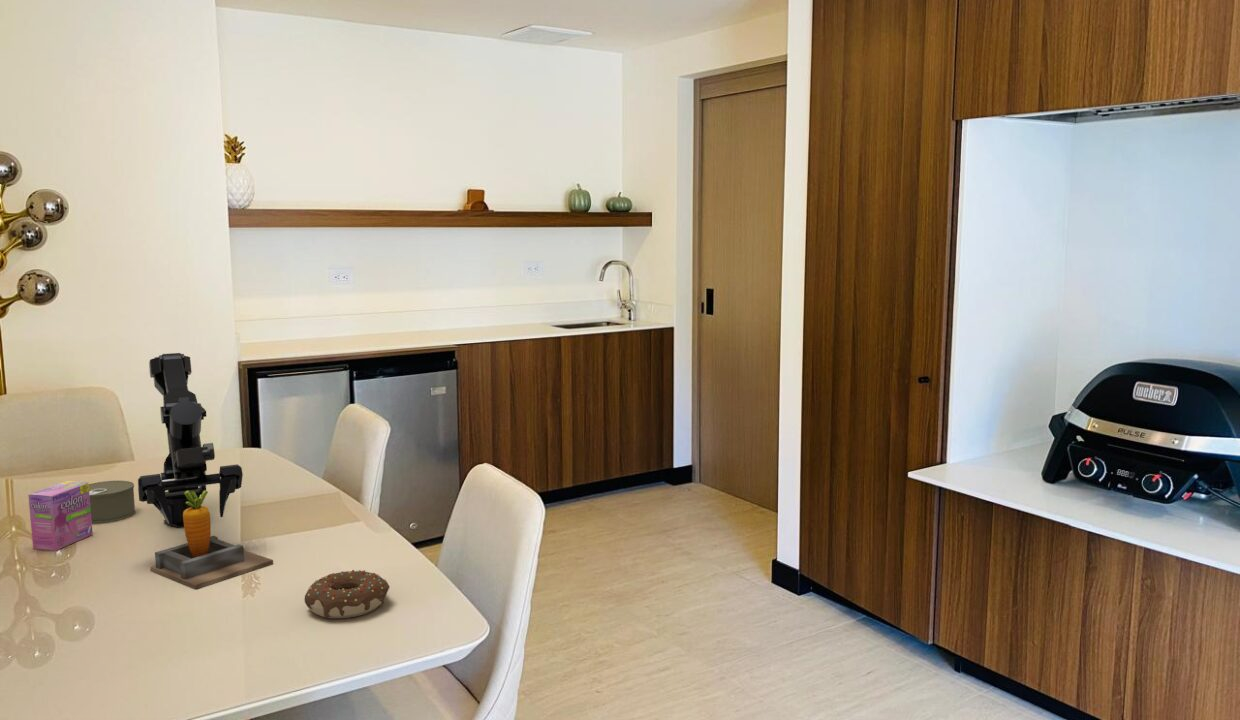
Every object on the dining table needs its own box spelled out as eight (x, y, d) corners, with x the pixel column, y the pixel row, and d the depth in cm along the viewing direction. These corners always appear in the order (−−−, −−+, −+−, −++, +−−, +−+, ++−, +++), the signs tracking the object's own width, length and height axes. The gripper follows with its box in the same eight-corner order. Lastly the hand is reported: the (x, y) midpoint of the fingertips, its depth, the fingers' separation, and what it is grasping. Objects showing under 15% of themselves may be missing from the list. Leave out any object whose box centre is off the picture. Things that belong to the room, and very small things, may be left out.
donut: (345, 630, 154) (343, 601, 153) (289, 612, 161) (288, 584, 160) (407, 600, 166) (406, 573, 165) (353, 585, 173) (352, 559, 172)
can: (147, 509, 220) (145, 481, 219) (115, 525, 208) (112, 495, 207) (99, 508, 221) (96, 479, 220) (64, 524, 209) (61, 494, 208)
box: (56, 551, 191) (51, 495, 190) (32, 549, 192) (26, 493, 191) (94, 535, 201) (89, 481, 200) (71, 533, 202) (66, 480, 201)
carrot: (217, 558, 184) (211, 485, 181) (209, 568, 179) (203, 493, 177) (191, 559, 183) (185, 486, 181) (182, 569, 179) (176, 494, 176)
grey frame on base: (227, 547, 193) (226, 529, 192) (273, 563, 184) (272, 545, 183) (150, 570, 180) (148, 551, 180) (195, 589, 171) (194, 569, 170)
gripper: (134, 435, 180) (142, 506, 172) (238, 425, 189) (250, 492, 181) (135, 466, 187) (142, 535, 180) (235, 454, 197) (246, 520, 189)
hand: (196, 519), depth 182 cm, fingers open, 9 cm apart
